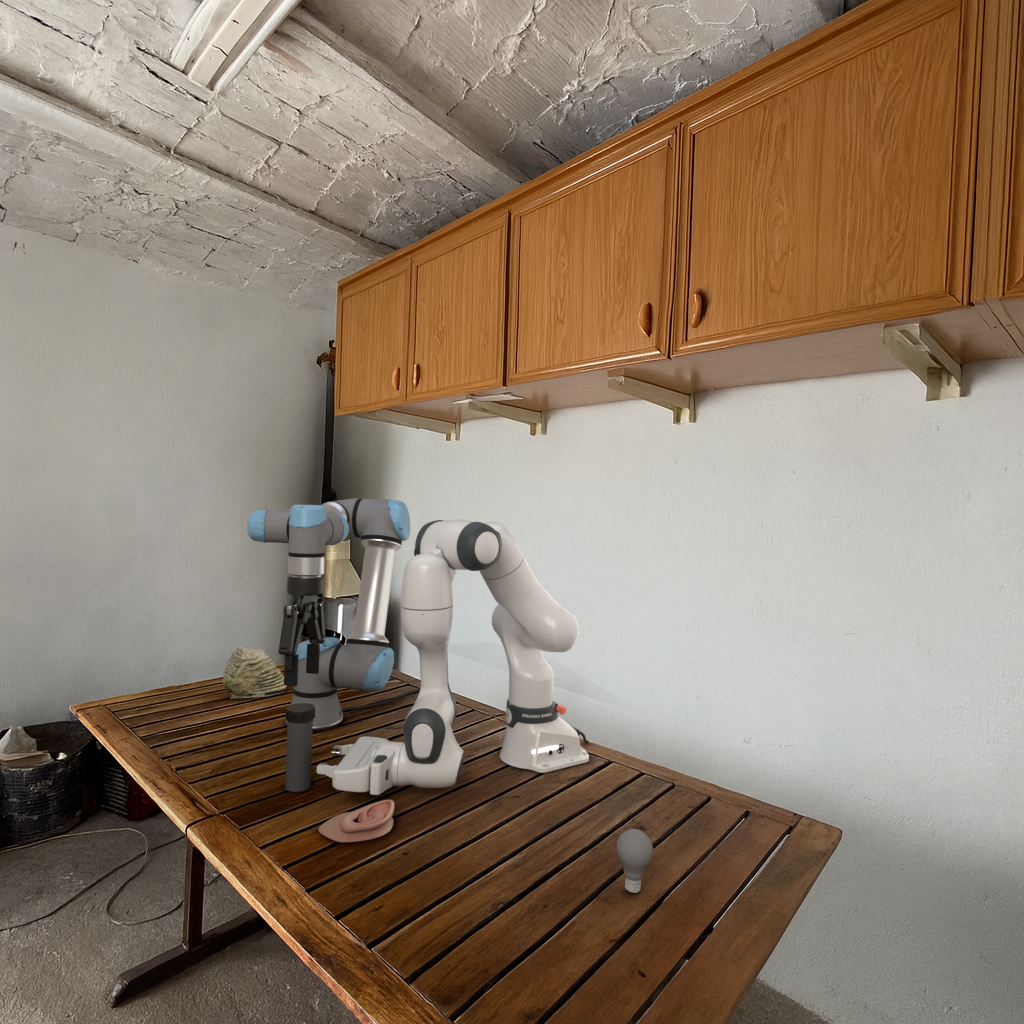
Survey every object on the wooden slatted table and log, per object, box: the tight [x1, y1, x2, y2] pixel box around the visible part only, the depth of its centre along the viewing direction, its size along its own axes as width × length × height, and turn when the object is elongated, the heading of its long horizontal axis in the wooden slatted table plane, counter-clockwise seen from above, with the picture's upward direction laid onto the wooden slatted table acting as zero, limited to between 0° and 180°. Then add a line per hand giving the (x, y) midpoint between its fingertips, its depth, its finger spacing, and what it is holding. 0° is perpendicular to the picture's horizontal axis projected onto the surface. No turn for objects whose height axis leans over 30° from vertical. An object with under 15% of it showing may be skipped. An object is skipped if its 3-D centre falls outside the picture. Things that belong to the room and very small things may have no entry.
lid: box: [285, 703, 315, 723], centre depth 138 cm, size 6×6×2 cm
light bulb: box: [615, 828, 654, 894], centre depth 106 cm, size 6×6×10 cm
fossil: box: [222, 646, 288, 699], centre depth 198 cm, size 9×18×15 cm, turn 132°
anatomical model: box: [317, 799, 395, 843], centre depth 122 cm, size 13×4×12 cm
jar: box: [284, 720, 313, 793], centre depth 138 cm, size 5×5×17 cm
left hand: (301, 679), depth 138 cm, fingers open, 9 cm apart
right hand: (325, 759), depth 137 cm, fingers open, 8 cm apart
